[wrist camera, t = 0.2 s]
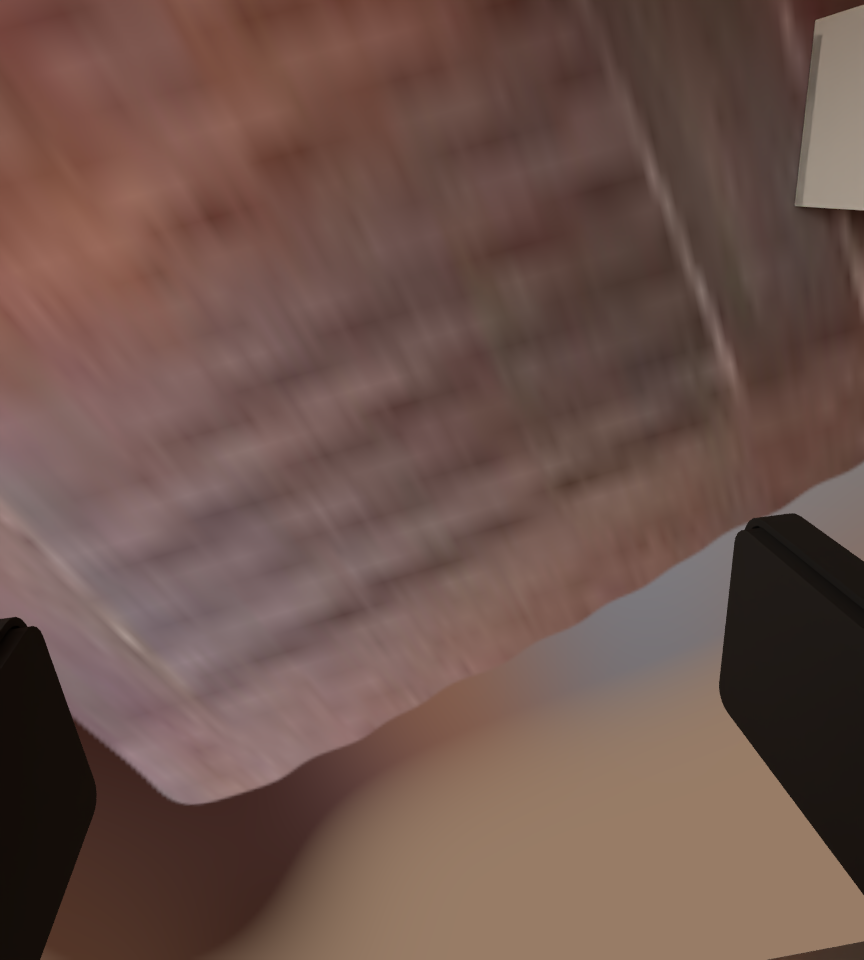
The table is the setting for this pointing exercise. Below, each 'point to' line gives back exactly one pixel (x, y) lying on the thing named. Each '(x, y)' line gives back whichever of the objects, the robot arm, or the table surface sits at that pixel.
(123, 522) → the table surface
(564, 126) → the table surface
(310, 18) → the table surface
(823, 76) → the tub
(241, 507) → the table surface
